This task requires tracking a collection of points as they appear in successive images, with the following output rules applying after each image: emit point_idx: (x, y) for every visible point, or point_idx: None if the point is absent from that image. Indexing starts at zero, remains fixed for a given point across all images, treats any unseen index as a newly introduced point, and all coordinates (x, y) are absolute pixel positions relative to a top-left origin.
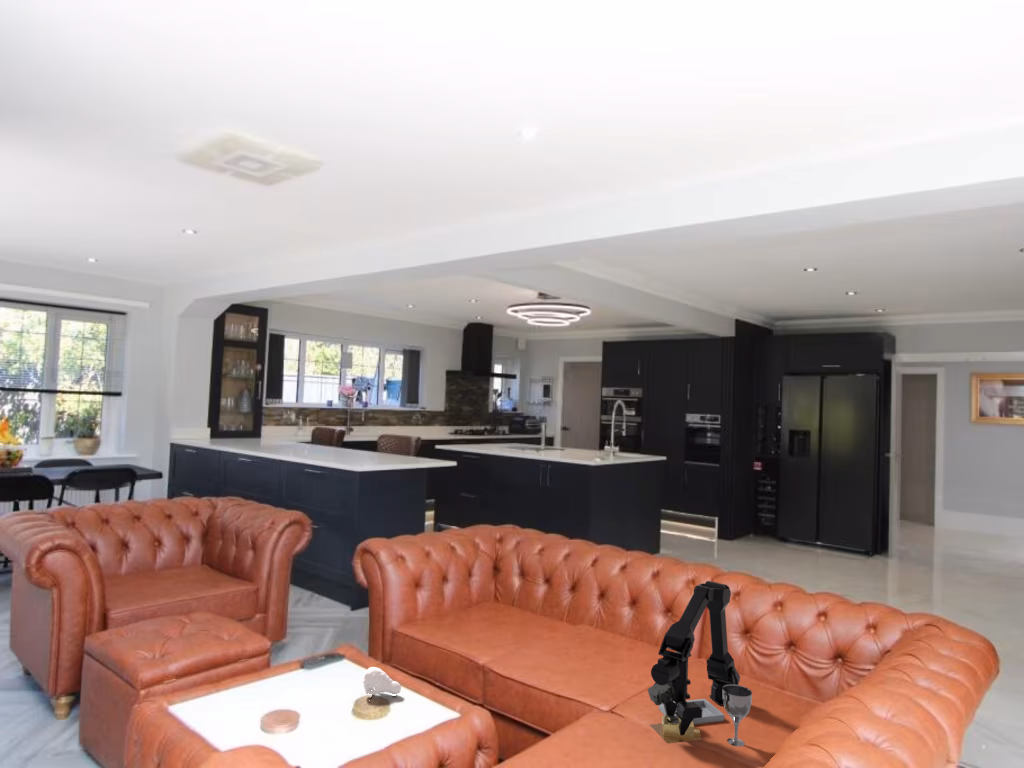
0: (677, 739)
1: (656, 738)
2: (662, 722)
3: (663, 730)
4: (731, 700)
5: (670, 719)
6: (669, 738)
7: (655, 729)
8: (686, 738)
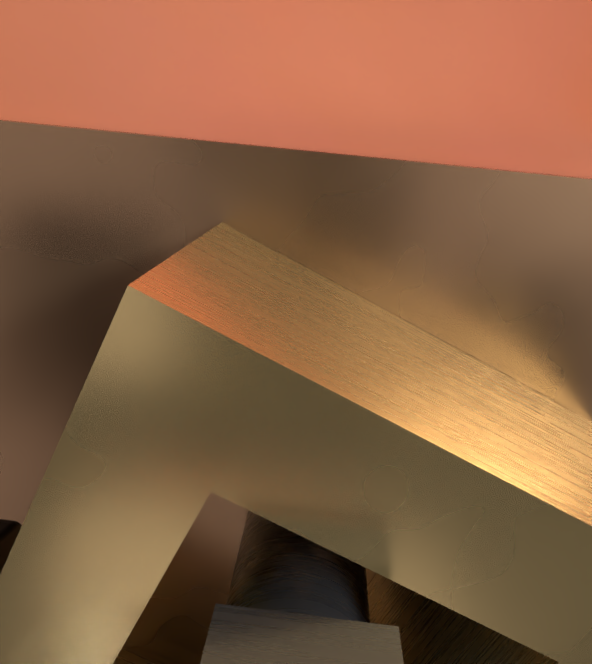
0: (32, 408)
1: (243, 31)
2: (558, 446)
3: (284, 279)
4: None
5: (209, 662)
6: (104, 285)
7: (556, 217)
8: None
